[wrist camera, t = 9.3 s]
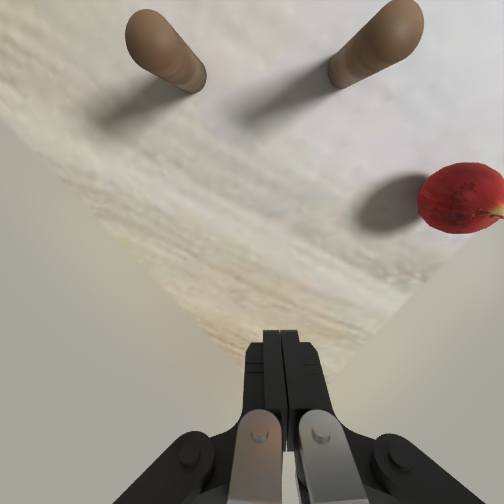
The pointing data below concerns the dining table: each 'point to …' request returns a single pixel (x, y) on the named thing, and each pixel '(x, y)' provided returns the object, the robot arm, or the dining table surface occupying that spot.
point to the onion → (462, 198)
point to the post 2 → (378, 43)
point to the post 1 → (163, 51)
